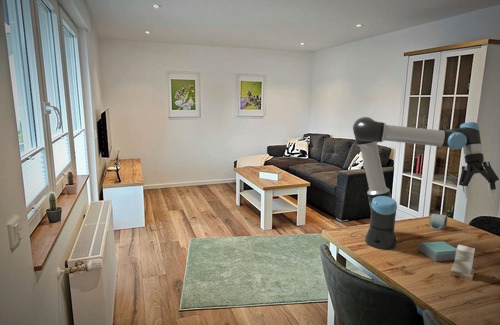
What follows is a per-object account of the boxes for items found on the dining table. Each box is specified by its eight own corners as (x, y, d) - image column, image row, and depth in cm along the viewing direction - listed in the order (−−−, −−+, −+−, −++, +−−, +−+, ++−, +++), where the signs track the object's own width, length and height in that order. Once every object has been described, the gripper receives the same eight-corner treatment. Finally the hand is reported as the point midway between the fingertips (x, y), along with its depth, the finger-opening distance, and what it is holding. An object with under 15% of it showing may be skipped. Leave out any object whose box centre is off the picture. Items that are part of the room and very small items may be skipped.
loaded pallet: (449, 273, 140) (453, 249, 138) (452, 266, 146) (456, 243, 144) (472, 280, 135) (476, 255, 133) (474, 272, 141) (478, 248, 139)
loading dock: (435, 261, 150) (436, 253, 150) (417, 249, 162) (418, 242, 161) (461, 259, 153) (462, 251, 152) (442, 247, 165) (443, 240, 164)
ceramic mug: (431, 223, 197) (432, 211, 196) (446, 226, 192) (448, 214, 190) (426, 228, 189) (428, 216, 188) (442, 232, 184) (444, 219, 183)
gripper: (503, 148, 147) (511, 196, 143) (460, 159, 171) (466, 199, 168) (489, 148, 146) (496, 196, 142) (447, 159, 170) (453, 200, 166)
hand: (480, 198), depth 155 cm, fingers open, 13 cm apart
